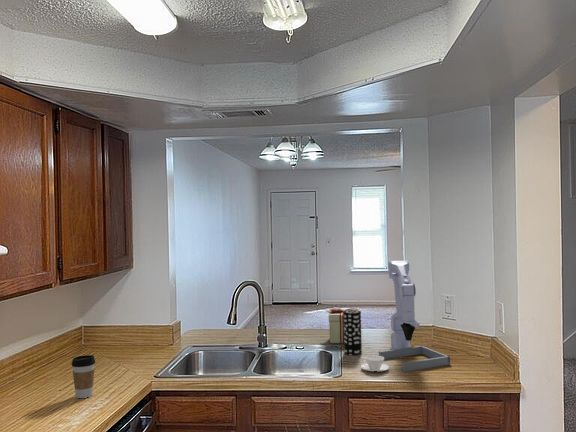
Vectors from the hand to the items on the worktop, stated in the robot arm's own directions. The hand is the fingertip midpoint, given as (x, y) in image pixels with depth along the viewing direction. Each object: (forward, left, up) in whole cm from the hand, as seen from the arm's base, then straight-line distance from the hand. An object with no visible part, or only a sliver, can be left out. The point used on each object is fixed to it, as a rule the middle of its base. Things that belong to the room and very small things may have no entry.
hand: (408, 340), depth 225 cm
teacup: (+5, -21, -10) cm, 23 cm away
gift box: (-47, -10, -10) cm, 49 cm away
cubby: (+2, 0, -9) cm, 10 cm away
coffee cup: (-13, -137, -10) cm, 138 cm away
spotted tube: (-22, -17, -10) cm, 29 cm away
